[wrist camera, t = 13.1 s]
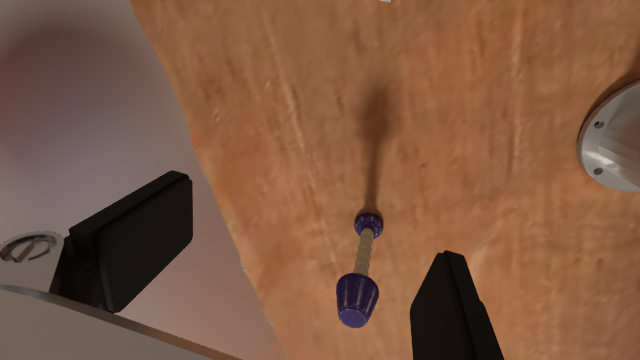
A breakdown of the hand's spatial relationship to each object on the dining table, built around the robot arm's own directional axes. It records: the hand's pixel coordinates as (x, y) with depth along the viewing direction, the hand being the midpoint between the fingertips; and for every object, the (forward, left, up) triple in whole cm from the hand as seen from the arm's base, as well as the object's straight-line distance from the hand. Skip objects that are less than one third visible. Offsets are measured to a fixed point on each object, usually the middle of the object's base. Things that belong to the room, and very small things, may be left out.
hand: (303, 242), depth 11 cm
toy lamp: (-5, +17, -28) cm, 34 cm away
